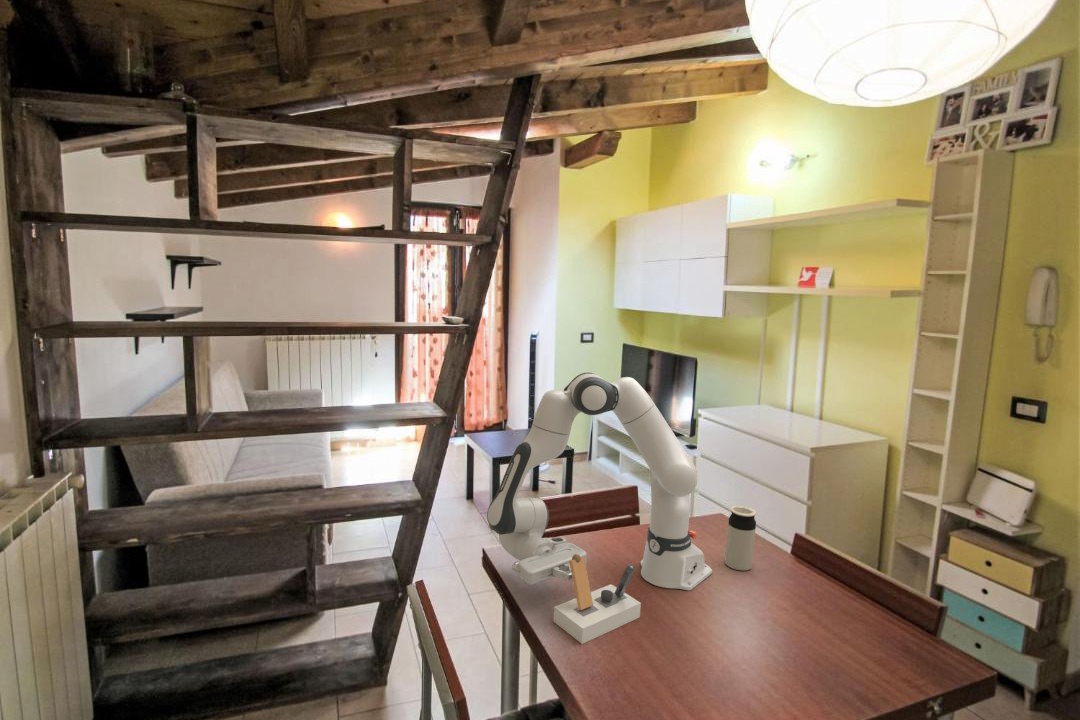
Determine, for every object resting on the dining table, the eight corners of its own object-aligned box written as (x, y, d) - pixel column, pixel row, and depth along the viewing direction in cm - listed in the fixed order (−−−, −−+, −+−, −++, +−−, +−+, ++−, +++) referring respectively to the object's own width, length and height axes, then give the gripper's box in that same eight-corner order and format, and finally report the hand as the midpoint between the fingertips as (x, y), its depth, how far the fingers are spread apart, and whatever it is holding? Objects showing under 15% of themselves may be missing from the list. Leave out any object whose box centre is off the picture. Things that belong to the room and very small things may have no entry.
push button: (606, 593, 152) (607, 588, 152) (614, 598, 150) (615, 593, 150) (598, 597, 150) (598, 592, 150) (606, 602, 148) (606, 597, 148)
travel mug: (748, 574, 176) (754, 517, 173) (721, 566, 180) (726, 511, 177) (754, 563, 182) (759, 509, 180) (728, 556, 186) (733, 503, 184)
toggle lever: (618, 589, 154) (632, 561, 149) (624, 596, 152) (638, 568, 148) (612, 592, 152) (625, 563, 148) (618, 599, 151) (631, 570, 146)
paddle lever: (588, 604, 148) (578, 552, 150) (594, 605, 146) (584, 552, 149) (577, 609, 146) (567, 556, 148) (582, 610, 144) (572, 556, 146)
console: (610, 597, 159) (611, 583, 159) (639, 617, 151) (640, 602, 150) (553, 621, 147) (554, 606, 147) (581, 644, 139) (582, 627, 138)
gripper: (508, 554, 154) (540, 576, 143) (567, 535, 167) (600, 555, 156) (508, 576, 155) (539, 600, 144) (566, 556, 168) (599, 577, 157)
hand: (571, 576), depth 150 cm, fingers closed
